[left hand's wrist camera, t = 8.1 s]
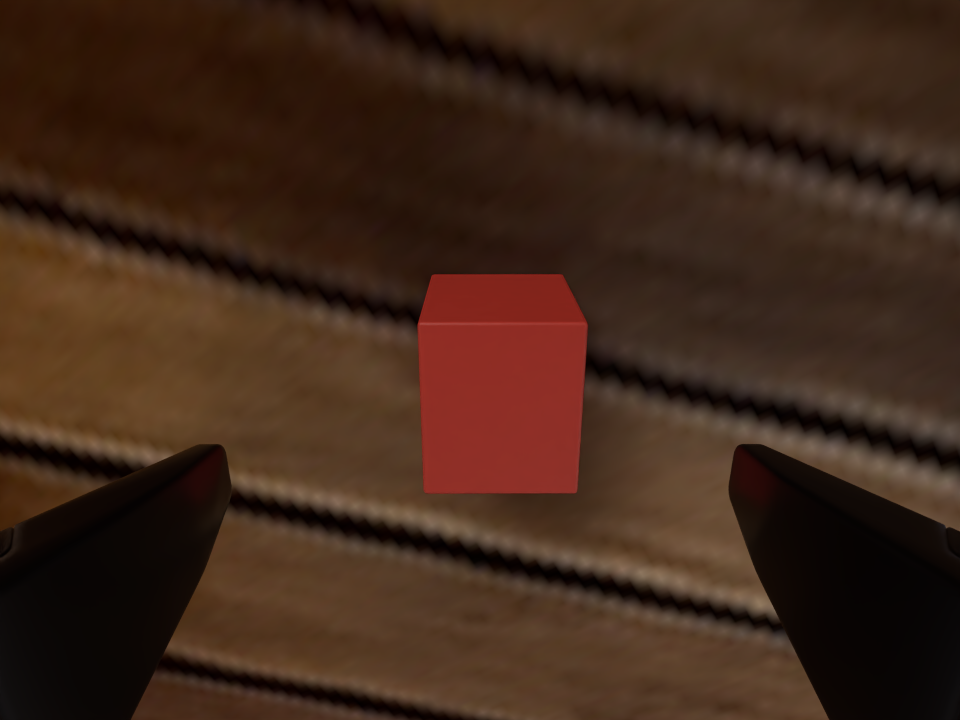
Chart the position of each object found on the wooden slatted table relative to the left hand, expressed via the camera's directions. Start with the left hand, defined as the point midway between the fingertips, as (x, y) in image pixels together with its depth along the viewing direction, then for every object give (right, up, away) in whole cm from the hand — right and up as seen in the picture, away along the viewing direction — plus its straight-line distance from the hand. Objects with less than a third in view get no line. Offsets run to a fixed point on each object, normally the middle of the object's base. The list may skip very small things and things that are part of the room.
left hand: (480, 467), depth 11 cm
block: (0, +2, +9) cm, 10 cm away
